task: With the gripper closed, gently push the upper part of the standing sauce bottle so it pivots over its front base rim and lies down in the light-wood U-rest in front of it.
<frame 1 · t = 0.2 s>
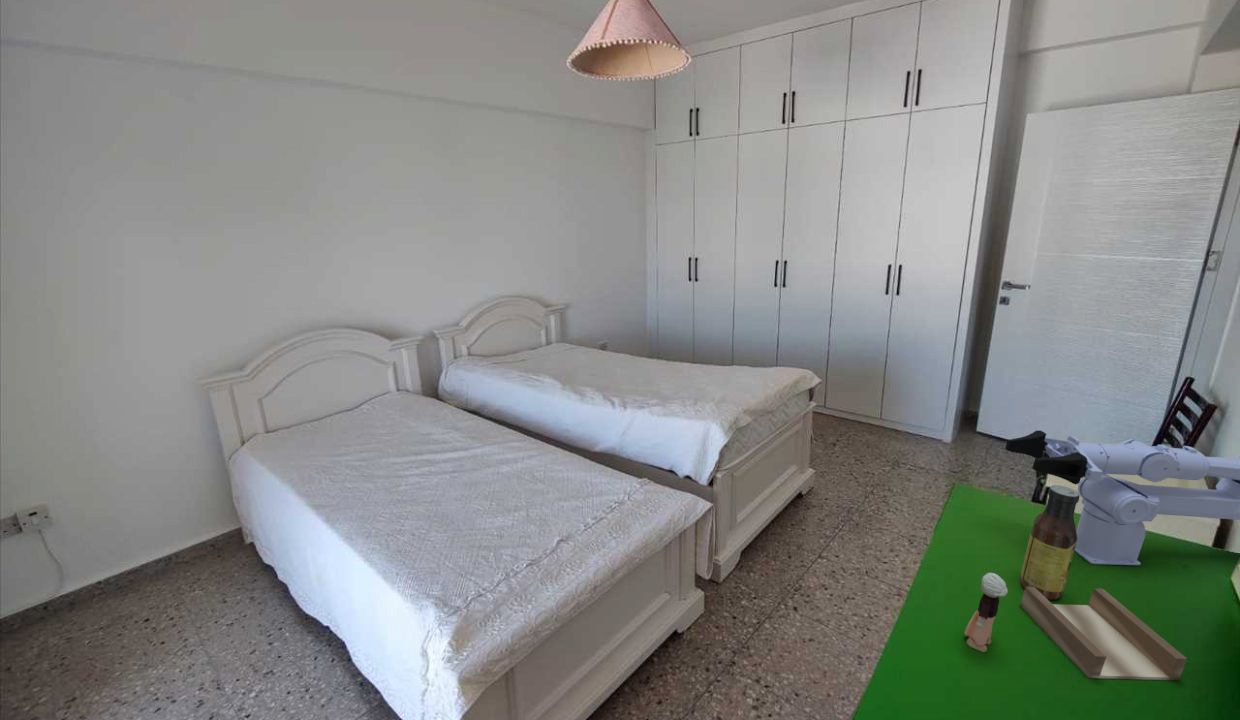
hand: (1020, 454, 101), 21 cm above the table, tool horizontal, fingers open, 7 cm apart
sauce bottle: (1038, 589, 97), on the table
u rest: (1092, 640, 85), on the table
grandmother figurine: (977, 644, 84), on the table
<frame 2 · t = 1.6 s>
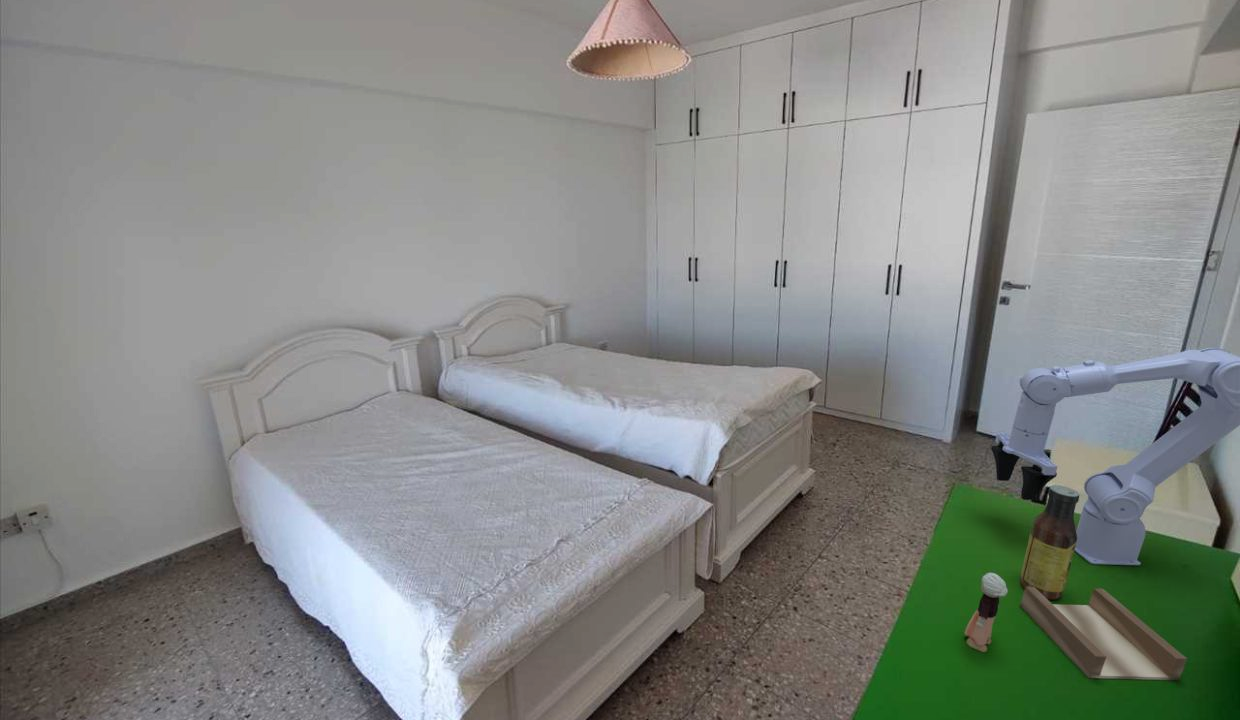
hand: (1014, 489, 110), 10 cm above the table, tool pointing down, fingers open, 7 cm apart
nothing on the table moved.
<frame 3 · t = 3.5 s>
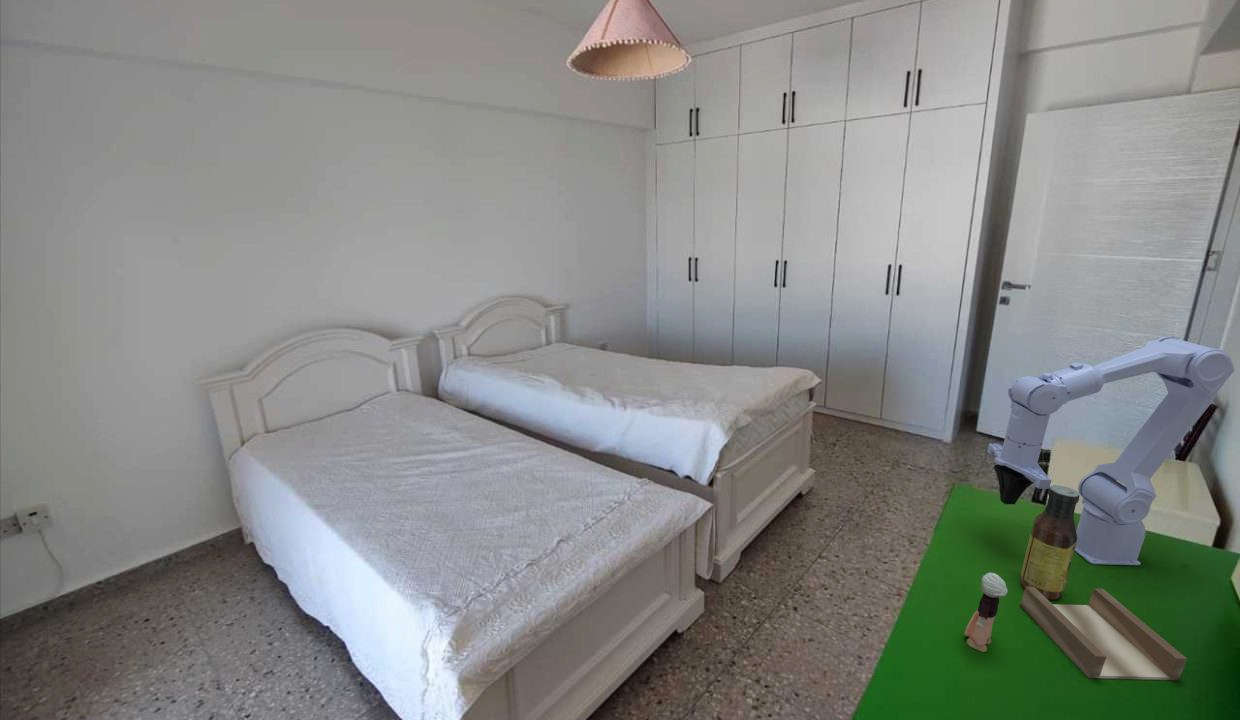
hand: (1007, 502, 105), 10 cm above the table, tool pointing down, fingers closed
nothing on the table moved.
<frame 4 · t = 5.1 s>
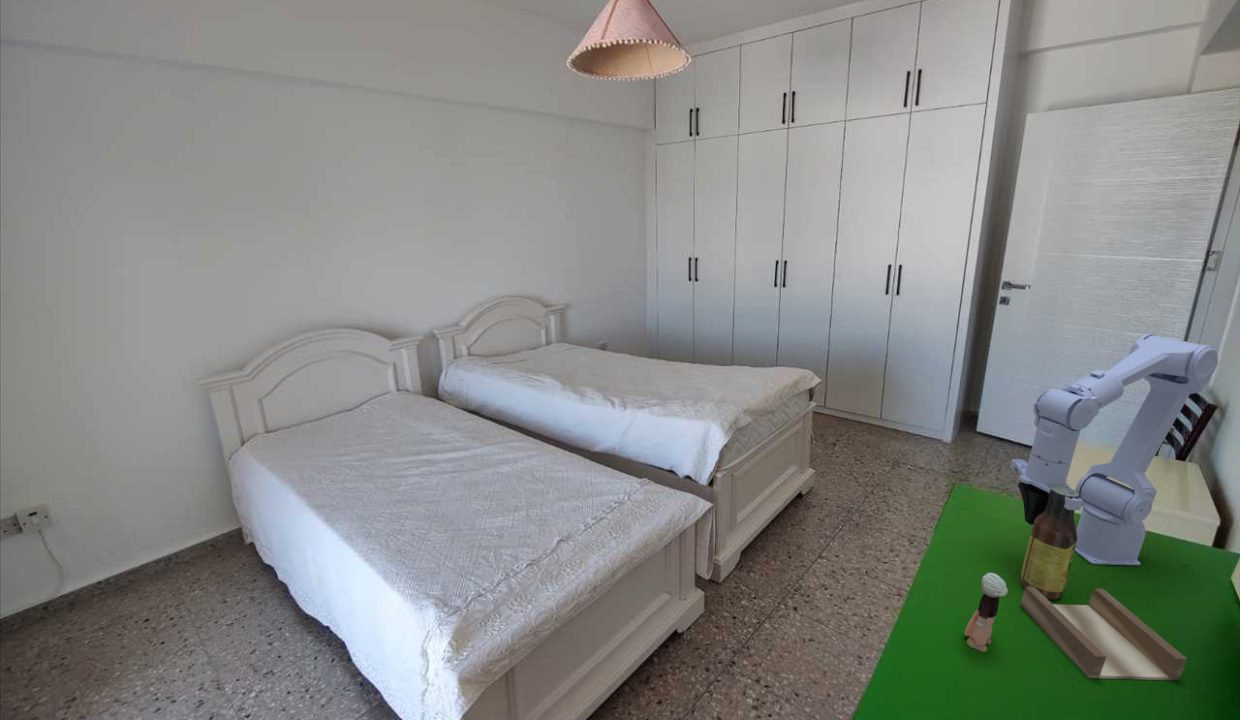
hand: (1032, 522, 98), 10 cm above the table, tool pointing down, fingers closed
sauce bottle: (1038, 589, 97), on the table, touching gripper
everything else where it was.
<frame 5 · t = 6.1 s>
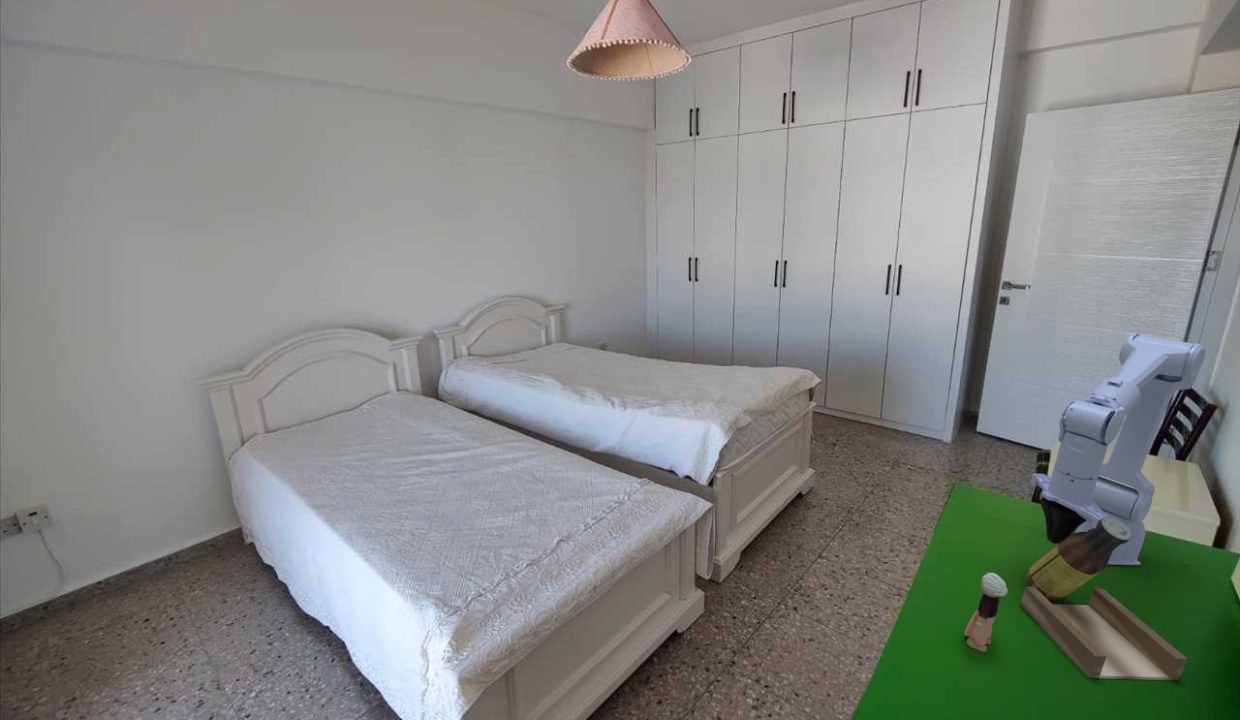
hand: (1055, 541, 93), 10 cm above the table, tool pointing down, fingers closed
sauce bottle: (1042, 583, 96), point 1 cm above the table
everything else where it was.
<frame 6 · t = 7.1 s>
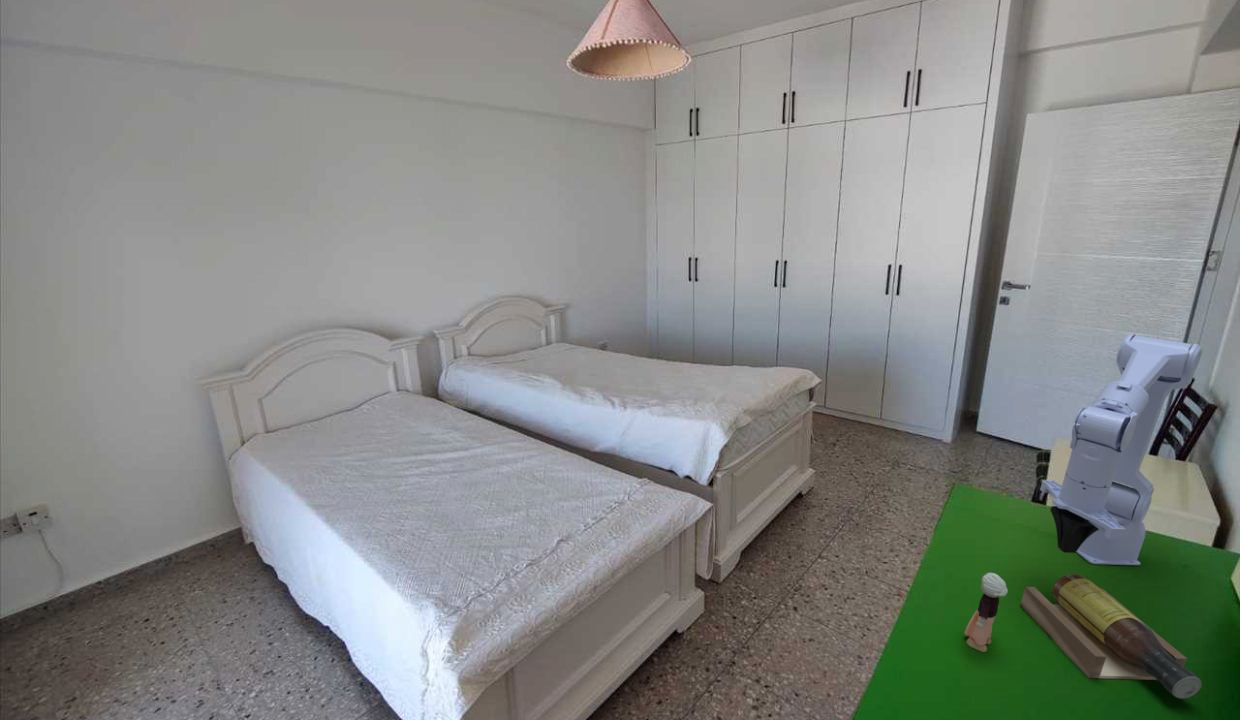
hand: (1066, 550, 91), 10 cm above the table, tool pointing down, fingers closed
sauce bottle: (1066, 584, 92), point 4 cm above the table, touching u rest
everything else where it was.
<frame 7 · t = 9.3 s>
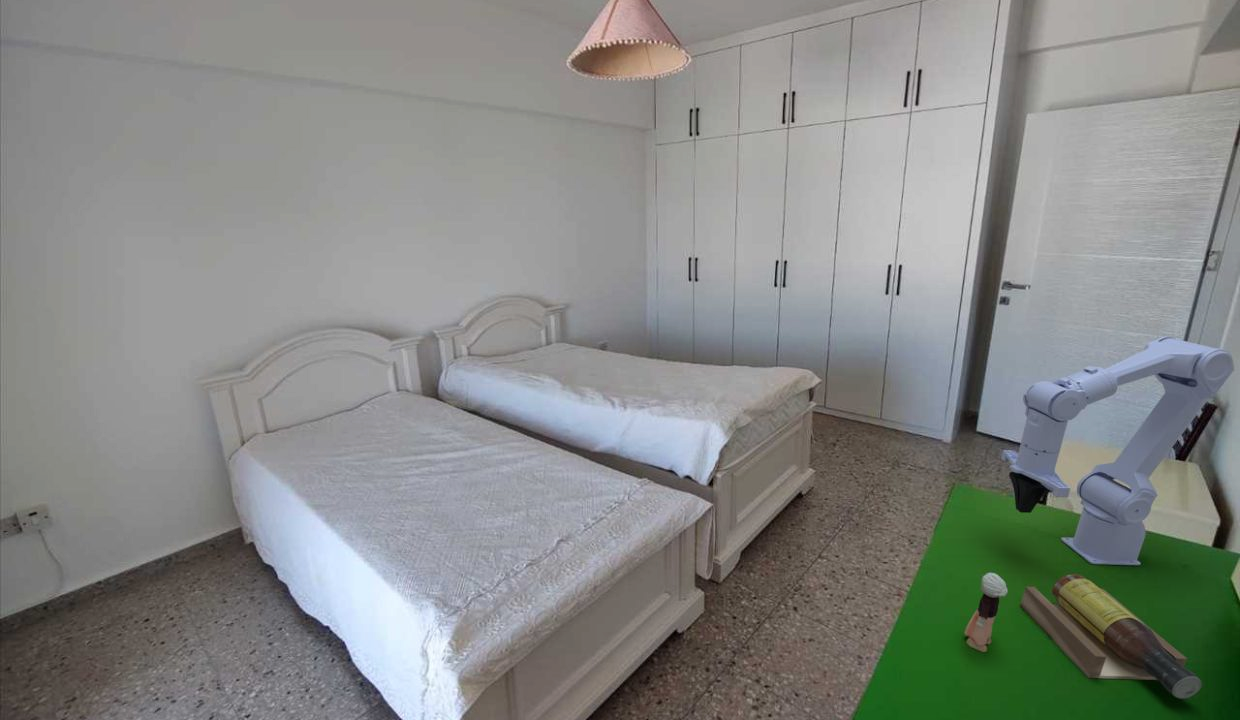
hand: (1023, 510, 102), 10 cm above the table, tool pointing down, fingers closed
nothing on the table moved.
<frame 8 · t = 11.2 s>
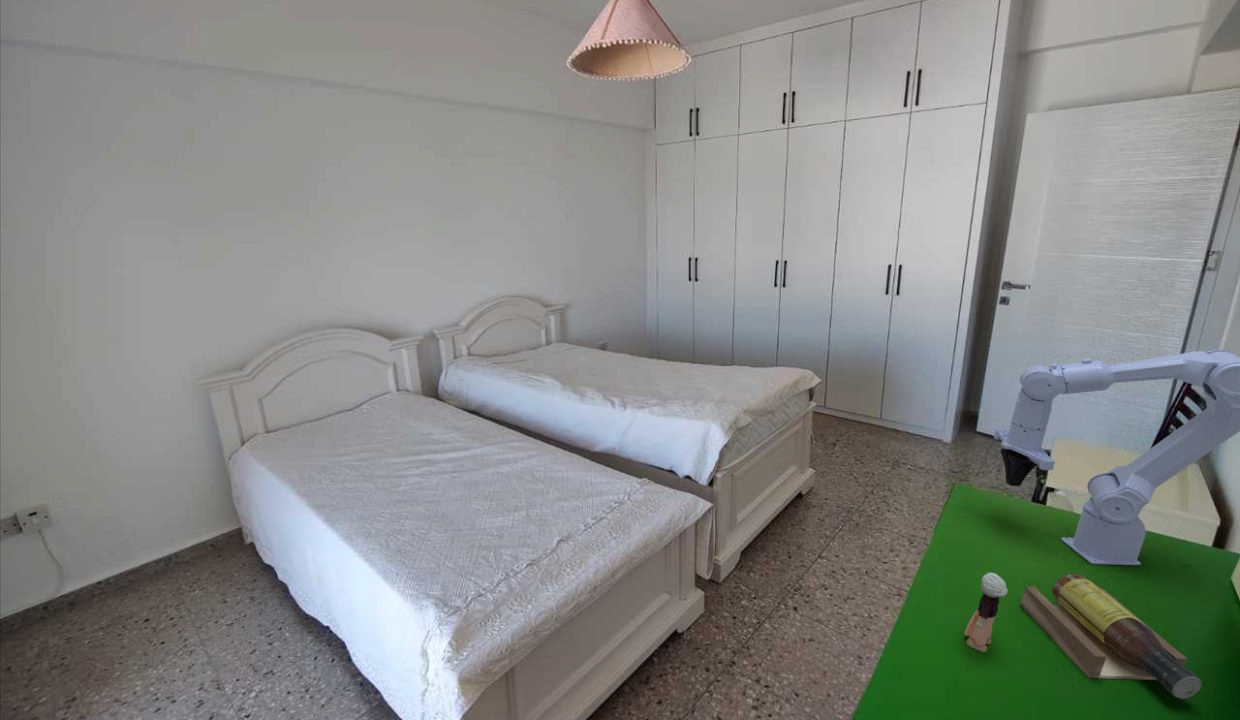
hand: (1013, 484, 112), 10 cm above the table, tool pointing down, fingers closed
nothing on the table moved.
at the end: sauce bottle tilted 93°; sauce bottle touching u rest; sauce bottle inside the target area (1.3 cm from its centre), point 3.9 cm above the table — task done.
